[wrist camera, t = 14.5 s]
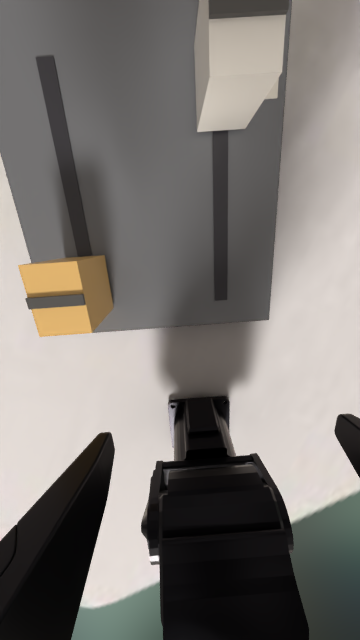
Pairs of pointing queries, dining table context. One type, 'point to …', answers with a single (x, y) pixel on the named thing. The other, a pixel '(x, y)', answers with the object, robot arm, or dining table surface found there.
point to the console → (137, 160)
